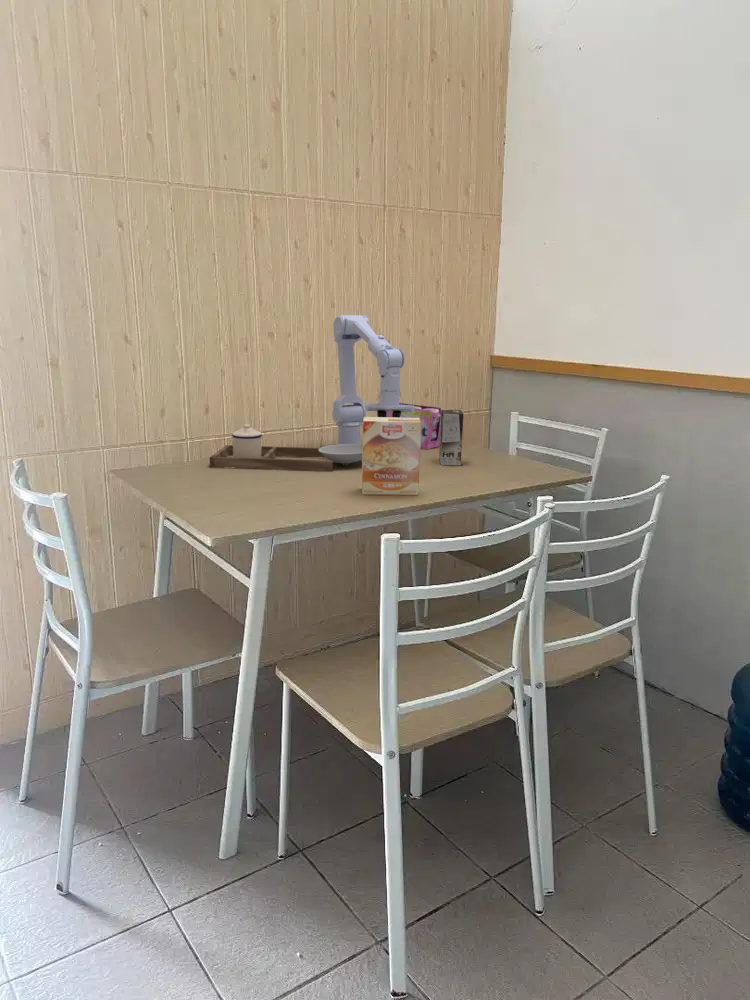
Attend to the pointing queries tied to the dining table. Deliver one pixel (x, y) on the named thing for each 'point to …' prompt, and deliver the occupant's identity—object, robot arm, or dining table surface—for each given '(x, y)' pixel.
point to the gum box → (424, 423)
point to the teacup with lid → (247, 443)
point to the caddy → (273, 459)
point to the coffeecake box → (391, 455)
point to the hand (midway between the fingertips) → (388, 435)
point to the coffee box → (451, 437)
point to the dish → (343, 453)
